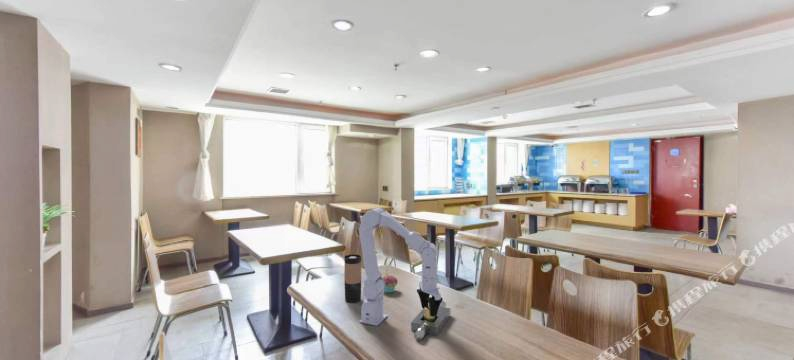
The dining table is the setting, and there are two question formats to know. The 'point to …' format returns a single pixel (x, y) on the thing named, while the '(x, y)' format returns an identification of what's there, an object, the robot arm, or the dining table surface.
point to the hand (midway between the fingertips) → (429, 311)
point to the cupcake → (389, 283)
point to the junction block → (430, 327)
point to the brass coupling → (428, 315)
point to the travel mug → (352, 278)
